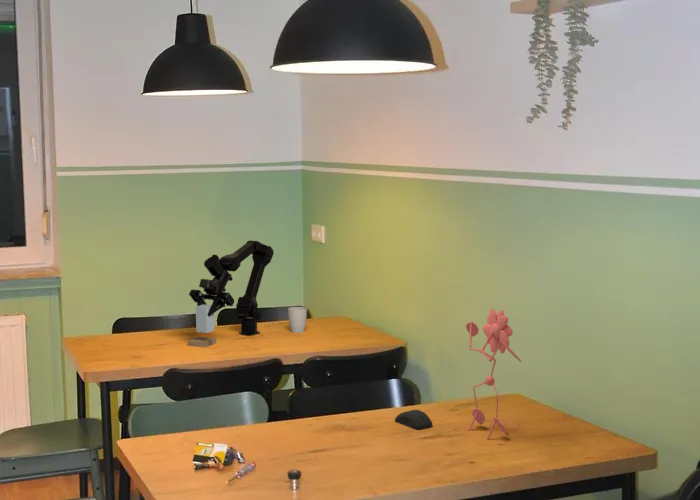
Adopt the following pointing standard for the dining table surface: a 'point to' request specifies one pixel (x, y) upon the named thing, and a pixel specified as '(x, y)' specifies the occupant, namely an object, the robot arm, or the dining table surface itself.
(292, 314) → the cup
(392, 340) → the dining table surface
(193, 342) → the upper slab
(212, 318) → the grey upright block
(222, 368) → the dining table surface
